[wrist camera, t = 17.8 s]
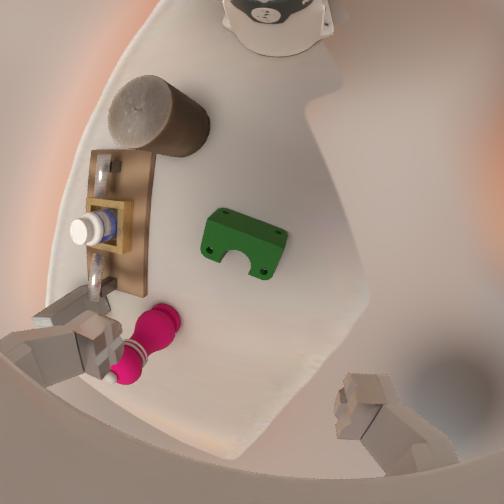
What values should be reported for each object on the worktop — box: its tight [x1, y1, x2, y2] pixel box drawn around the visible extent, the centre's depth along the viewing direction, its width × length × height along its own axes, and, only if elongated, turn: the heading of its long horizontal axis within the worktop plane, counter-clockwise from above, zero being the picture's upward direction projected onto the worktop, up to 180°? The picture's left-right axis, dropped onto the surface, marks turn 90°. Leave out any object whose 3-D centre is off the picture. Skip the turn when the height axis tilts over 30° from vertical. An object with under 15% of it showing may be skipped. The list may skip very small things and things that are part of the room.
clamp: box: [200, 208, 288, 280], centre depth 40 cm, size 12×6×9 cm, turn 65°
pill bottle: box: [70, 208, 118, 246], centre depth 39 cm, size 5×5×10 cm
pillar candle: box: [108, 75, 210, 157], centre depth 33 cm, size 10×10×15 cm
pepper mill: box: [105, 304, 180, 385], centre depth 39 cm, size 7×7×20 cm
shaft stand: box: [86, 150, 156, 302], centre depth 41 cm, size 26×14×9 cm, turn 172°
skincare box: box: [32, 285, 110, 329], centre depth 43 cm, size 8×7×16 cm
